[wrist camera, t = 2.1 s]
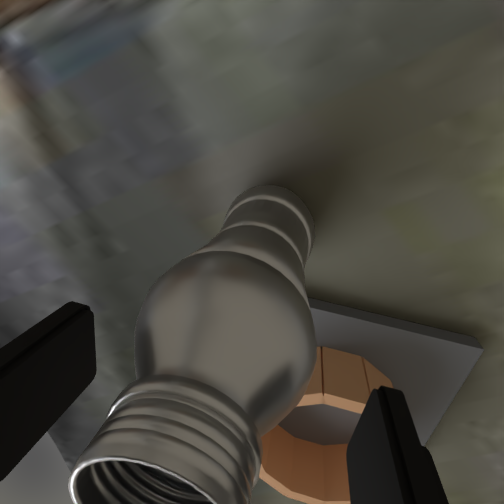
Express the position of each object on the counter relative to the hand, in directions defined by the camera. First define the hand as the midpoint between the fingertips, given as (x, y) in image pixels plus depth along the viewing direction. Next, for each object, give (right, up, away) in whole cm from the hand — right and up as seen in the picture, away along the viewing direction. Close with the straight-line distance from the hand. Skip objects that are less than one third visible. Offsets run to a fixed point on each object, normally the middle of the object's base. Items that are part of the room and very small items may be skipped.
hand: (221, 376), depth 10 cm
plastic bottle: (+3, +7, +14) cm, 16 cm away
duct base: (+8, -10, +20) cm, 23 cm away
